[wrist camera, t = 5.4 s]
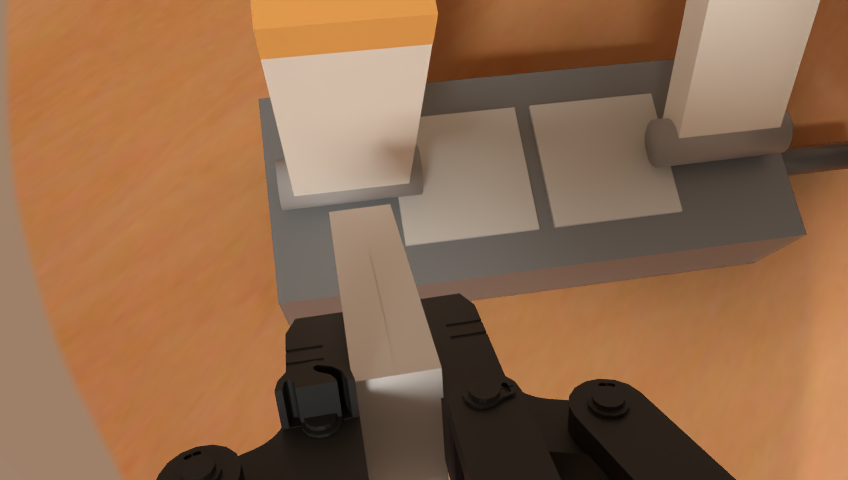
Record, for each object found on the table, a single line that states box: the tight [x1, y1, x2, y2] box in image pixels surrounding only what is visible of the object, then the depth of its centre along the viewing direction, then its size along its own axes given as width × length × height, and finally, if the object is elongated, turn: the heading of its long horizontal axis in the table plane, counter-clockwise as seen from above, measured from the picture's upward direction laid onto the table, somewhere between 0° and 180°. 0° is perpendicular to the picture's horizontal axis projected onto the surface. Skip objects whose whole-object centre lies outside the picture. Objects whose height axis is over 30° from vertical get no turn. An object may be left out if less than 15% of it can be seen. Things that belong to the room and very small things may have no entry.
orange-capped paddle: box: [250, 0, 438, 210], centre depth 22 cm, size 5×2×12 cm, turn 99°
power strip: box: [259, 59, 848, 325], centre depth 30 cm, size 26×8×4 cm, turn 99°
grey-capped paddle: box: [645, 0, 820, 168], centre depth 25 cm, size 5×2×12 cm
